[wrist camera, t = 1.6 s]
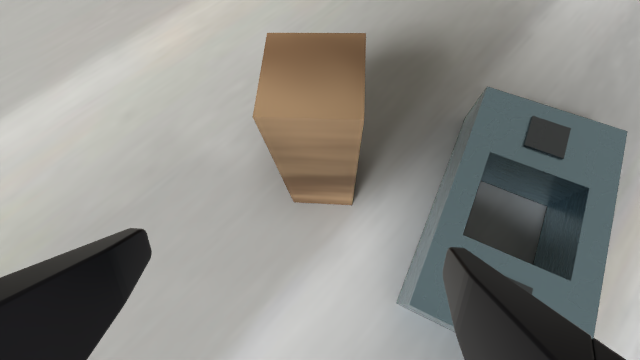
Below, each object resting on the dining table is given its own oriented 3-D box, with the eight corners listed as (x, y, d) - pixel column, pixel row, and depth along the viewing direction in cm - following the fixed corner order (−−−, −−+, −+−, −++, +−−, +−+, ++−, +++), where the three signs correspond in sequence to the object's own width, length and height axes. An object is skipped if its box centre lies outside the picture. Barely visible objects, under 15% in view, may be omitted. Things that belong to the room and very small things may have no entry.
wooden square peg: (351, 205, 23) (364, 119, 12) (293, 202, 23) (252, 116, 12) (353, 152, 25) (365, 33, 13) (299, 150, 25) (267, 32, 14)
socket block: (535, 372, 19) (586, 392, 15) (396, 303, 20) (409, 304, 17) (581, 157, 23) (629, 130, 19) (465, 117, 25) (488, 85, 21)
